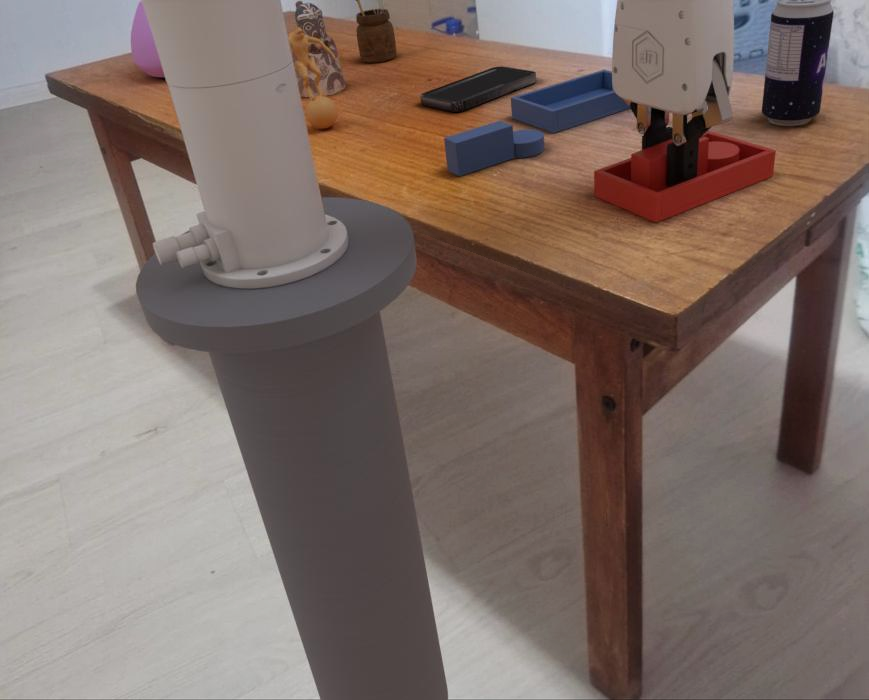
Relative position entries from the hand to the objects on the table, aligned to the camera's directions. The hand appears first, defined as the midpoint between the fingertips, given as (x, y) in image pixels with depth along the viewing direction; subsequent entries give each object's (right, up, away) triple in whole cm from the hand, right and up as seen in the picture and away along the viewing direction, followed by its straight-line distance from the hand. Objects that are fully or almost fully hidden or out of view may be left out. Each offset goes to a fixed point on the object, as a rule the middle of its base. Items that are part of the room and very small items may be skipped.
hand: (668, 176), depth 74 cm
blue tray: (-4, +13, +23) cm, 27 cm away
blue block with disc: (-15, +5, +13) cm, 20 cm away
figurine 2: (-36, +13, +30) cm, 48 cm away
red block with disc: (+2, 0, +1) cm, 2 cm away
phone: (-15, +18, +34) cm, 41 cm away
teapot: (-62, +33, +68) cm, 97 cm away
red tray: (+2, -1, +2) cm, 2 cm away
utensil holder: (-30, +31, +57) cm, 71 cm away
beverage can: (+16, +9, +13) cm, 22 cm away
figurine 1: (-38, +22, +45) cm, 63 cm away
